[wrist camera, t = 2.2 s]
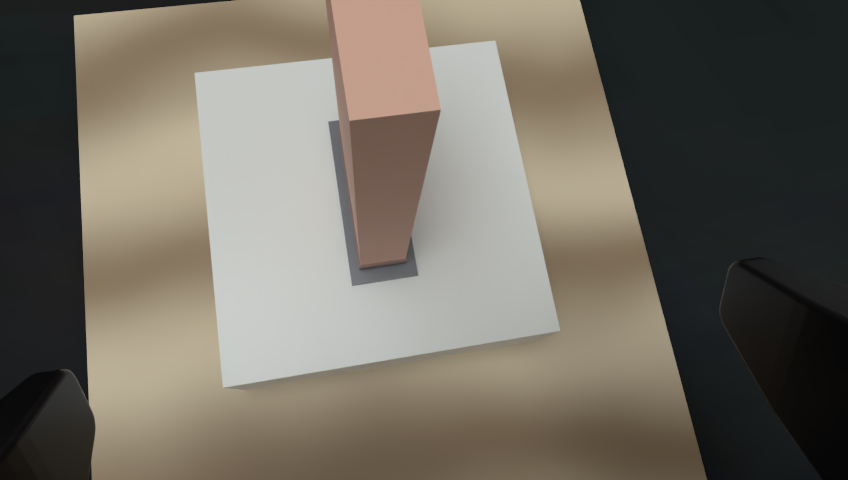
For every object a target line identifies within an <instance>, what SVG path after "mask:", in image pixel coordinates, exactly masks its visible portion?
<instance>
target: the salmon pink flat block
mask: <svg viewBox="0 0 848 480" xmlns="http://www.w3.org/2000/svg"><path fill="white" fill-rule="evenodd" d="M325 1H326V10H327V19H328V28H329V36H330V45H331V54H332V63H333V71H334V80H335V89H336V98H337V106H338V115H339V124H340V125H338V131H339V138H340V144H341V151H342V158H343V164H344V171H345V178H346V185H347V191H348V198H349V205H350V211H351V218H352V225H353V231H354V238H355V245H356V252H357V258H358V265H359V269H366V268H373V267H379V266H386V265H393V264H399V263H406V262H407V261H408V259H407V251H408V246H409V242H410V238H411V234H412V230H413V225H414V221H415V217H416V213H417V208H418V204H419V200H420V196H421V192H422V187H423V183H424V179H425V175H426V170H427V166H428V162H429V158H430V154H431V149H432V145H433V141H434V137H435V133H436V128H437V124H438V120H439V116H440V111H441V108H440V103H439V97H438V92H437V87H436V82H435V77H434V72H433V67H432V61H431V56H430V51H429V46H428V41H427V36H426V30H425V25H424V20H423V15H422V10H421V5H420V0H325Z"/></svg>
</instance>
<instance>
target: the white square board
mask: <svg viewBox="0 0 848 480" xmlns="http://www.w3.org/2000/svg"><path fill="white" fill-rule="evenodd" d="M429 51H430V56H431V61H432V67H433V72H434V77H435V82H436V87H437V92H438V97H439V103H440V108H441V111H440V116H439V120H438V124H437V128H436V133H435V137H434V141H433V145H432V149H431V154H430V158H429V162H428V166H427V170H426V175H425V179H424V183H423V187H422V192H421V196H420V200H419V204H418V208H417V213H416V217H415V221H414V225H413V230H412V234H411V238H410V242H409V246H408V251H407V259H408V261H407V262H406V263H399V264H393V265H386V266H379V267H373V268H366V269H359V265H358V258H357V252H356V245H355V238H354V231H353V225H352V218H351V211H350V205H349V198H348V191H347V185H346V178H345V171H344V164H343V158H342V151H341V144H340V138H339V131H338V125H340V124H339V115H338V106H337V98H336V89H335V80H334V71H333V63H332V58H328V59H318V60H309V61H300V62H290V63H281V64H272V65H262V66H253V67H244V68H235V69H225V70H216V71H207V72H197V73H194V74H195V85H196V96H197V107H198V118H199V129H200V140H201V151H202V162H203V173H204V184H205V195H206V206H207V217H208V228H209V239H210V251H211V262H212V273H213V284H214V295H215V306H216V317H217V328H218V339H219V350H220V361H221V372H222V383H223V388H229V389H239V390H250V389H256V388H262V387H268V386H274V385H280V384H286V383H291V382H297V381H303V380H309V379H315V378H321V377H327V376H333V375H338V374H344V373H350V372H356V371H362V370H368V369H374V368H380V367H385V366H391V365H397V364H403V363H409V362H415V361H421V360H427V359H432V358H438V357H444V356H450V355H456V354H462V353H468V352H474V351H479V350H485V349H491V348H497V347H503V346H509V345H515V344H521V343H526V342H532V341H535V340H538V339H540V338H543V337H546V336H548V335H551V334H553V333H556V332H559V331H560V327H559V322H558V318H557V313H556V309H555V304H554V300H553V296H552V291H551V287H550V282H549V278H548V273H547V269H546V264H545V260H544V255H543V251H542V246H541V242H540V237H539V233H538V229H537V224H536V220H535V215H534V211H533V206H532V202H531V197H530V193H529V188H528V184H527V179H526V175H525V170H524V166H523V162H522V157H521V153H520V148H519V144H518V139H517V135H516V130H515V126H514V121H513V117H512V112H511V108H510V103H509V99H508V95H507V90H506V86H505V81H504V77H503V72H502V68H501V63H500V59H499V54H498V50H497V45H496V41H486V42H476V43H467V44H458V45H448V46H439V47H430V48H429Z"/></svg>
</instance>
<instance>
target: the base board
mask: <svg viewBox="0 0 848 480" xmlns="http://www.w3.org/2000/svg"><path fill="white" fill-rule="evenodd" d="M420 5H421V10H422V15H423V20H424V25H425V30H426V36H427V41H428V46H429V48H430V47H439V46H448V45H458V44H467V43H476V42H486V41H496V45H497V50H498V54H499V59H500V63H501V68H502V72H503V77H504V81H505V86H506V90H507V95H508V99H509V103H510V108H511V112H512V117H513V121H514V126H515V130H516V135H517V139H518V144H519V148H520V153H521V157H522V162H523V166H524V170H525V175H526V179H527V184H528V188H529V193H530V197H531V202H532V206H533V211H534V215H535V220H536V224H537V229H538V233H539V237H540V242H541V246H542V251H543V255H544V260H545V264H546V269H547V273H548V278H549V282H550V287H551V291H552V296H553V300H554V304H555V309H556V313H557V318H558V322H559V327H560V331H559V332H556V333H553V334H551V335H548V336H546V337H543V338H540V339H538V340H535V341H532V342H526V343H521V344H515V345H509V346H503V347H497V348H491V349H485V350H479V351H474V352H468V353H462V354H456V355H450V356H444V357H438V358H432V359H427V360H421V361H415V362H409V363H403V364H397V365H391V366H385V367H380V368H374V369H368V370H362V371H356V372H350V373H344V374H338V375H333V376H327V377H321V378H315V379H309V380H303V381H297V382H291V383H286V384H280V385H274V386H268V387H262V388H256V389H250V390H239V389H229V388H223V383H222V372H221V361H220V350H219V339H218V328H217V317H216V306H215V295H214V284H213V273H212V262H211V251H210V239H209V228H208V217H207V206H206V195H205V184H204V173H203V162H202V151H201V140H200V129H199V118H198V107H197V96H196V85H195V74H194V73H197V72H207V71H216V70H225V69H235V68H244V67H253V66H262V65H272V64H281V63H290V62H300V61H309V60H318V59H328V58H332V54H331V45H330V36H329V28H328V19H327V10H326V1H325V0H235V1H225V2H214V3H204V4H193V5H182V6H172V7H161V8H151V9H140V10H129V11H119V12H108V13H98V14H87V15H76V16H74V32H75V57H76V83H77V108H78V134H79V160H80V185H81V211H82V236H83V262H84V287H85V313H86V338H87V364H88V389H89V406H90V408H91V410H92V412H93V415H94V418H95V425H96V431H95V439H94V445H93V452H92V459H91V466H92V480H707V478H706V474H705V470H704V466H703V462H702V459H701V455H700V451H699V447H698V444H697V440H696V436H695V432H694V429H693V425H692V421H691V417H690V414H689V410H688V406H687V402H686V398H685V395H684V391H683V387H682V383H681V380H680V376H679V372H678V368H677V365H676V361H675V357H674V353H673V350H672V346H671V342H670V338H669V334H668V331H667V327H666V323H665V319H664V316H663V312H662V308H661V304H660V301H659V297H658V293H657V289H656V286H655V282H654V278H653V274H652V270H651V267H650V263H649V259H648V255H647V252H646V248H645V244H644V240H643V237H642V233H641V229H640V225H639V222H638V218H637V214H636V210H635V207H634V203H633V199H632V195H631V191H630V188H629V184H628V180H627V176H626V173H625V169H624V165H623V161H622V158H621V154H620V150H619V146H618V143H617V139H616V135H615V131H614V127H613V124H612V120H611V116H610V112H609V109H608V105H607V101H606V97H605V94H604V90H603V86H602V82H601V79H600V75H599V71H598V67H597V63H596V60H595V56H594V52H593V48H592V45H591V41H590V37H589V33H588V30H587V26H586V22H585V18H584V15H583V11H582V7H581V3H580V0H420Z"/></svg>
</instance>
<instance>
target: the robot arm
mask: <svg viewBox="0 0 848 480" xmlns="http://www.w3.org/2000/svg"><path fill="white" fill-rule="evenodd" d="M719 309H720V318H721V321H722V323H723V325H724V327H725V329H726V331H727V332H728V334H729V336H730V338H731V339H732V341H733V343H734V344H735V346H736V348H737V350H738V351H739V353H740V355H741V357H742V358H743V360H744V362H745V364H746V365H747V367H748V369H749V371H750V372H751V374H752V376H753V378H754V379H755V381H756V383H757V384H758V386H759V388H760V390H761V391H762V393H763V395H764V397H765V398H766V400H767V402H768V403H769V405H770V406H771V408H772V410H773V411H774V413H775V414H776V416H777V417H778V419H779V420H780V422H781V423H782V425H783V426H784V427H785V429H786V430H787V432H788V433H789V434H790V436H791V437H792V439H793V440H794V441H795V443H796V444H797V445H798V447H799V448H800V450H801V451H802V452H803V454H804V455H805V457H806V458H807V459H808V461H809V462H810V464H811V465H812V466H813V468H814V469H815V471H816V472H817V473H818V475H819V476H820V478H821V479H822V480H848V286H845V285H842V284H839V283H836V282H834V281H831V280H828V279H825V278H822V277H819V276H816V275H813V274H810V273H807V272H804V271H801V270H799V269H796V268H793V267H790V266H787V265H784V264H781V263H778V262H775V261H772V260H769V259H766V258H761V257H757V258H750V259H744V260H738V261H736V262H734V263H732V264H731V266H730V267H729V269H728V273H727V277H726V281H725V285H724V289H723V294H722V298H721V302H720V307H719ZM95 431H96V425H95V418H94V415H93V412H92V410H91V408H90V406H89V403H88V401H87V399H86V397H85V395H84V393H83V391H82V389H81V387H80V385H79V383H78V381H77V378H76V377H75V375H74V374H73V373H72V372H71V371H70V370H67V369H59V370H52V371H46V372H40V373H36V374H33V375H31V376H30V377H28V378H27V379H26V380H24V381H23V382H22V383H21V384H19V385H18V386H17V387H16V388H14V389H13V390H12V391H11V392H9V393H8V394H7V395H6V396H4V397H3V398H2V399H1V400H0V480H88V479H89V473H90V466H91V459H92V452H93V445H94V439H95Z"/></svg>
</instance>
